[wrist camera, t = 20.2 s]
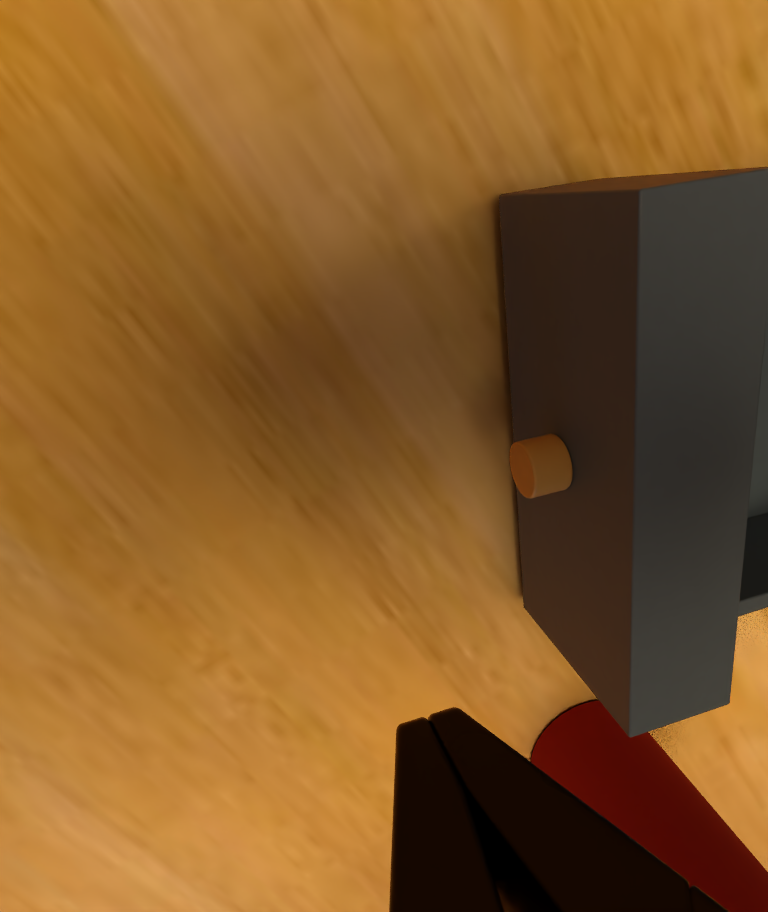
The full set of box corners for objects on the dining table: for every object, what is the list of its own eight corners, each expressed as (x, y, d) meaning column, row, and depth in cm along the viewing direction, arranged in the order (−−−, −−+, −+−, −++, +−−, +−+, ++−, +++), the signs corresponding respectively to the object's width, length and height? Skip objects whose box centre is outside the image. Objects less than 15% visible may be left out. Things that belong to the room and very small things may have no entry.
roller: (515, 738, 23) (672, 1004, 15) (621, 679, 23) (828, 911, 16) (547, 811, 25) (703, 1081, 17) (646, 756, 25) (841, 996, 18)
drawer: (493, 616, 20) (592, 752, 15) (459, 200, 15) (584, 198, 10) (841, 515, 23) (1025, 603, 18) (903, 130, 18) (1179, 100, 13)
